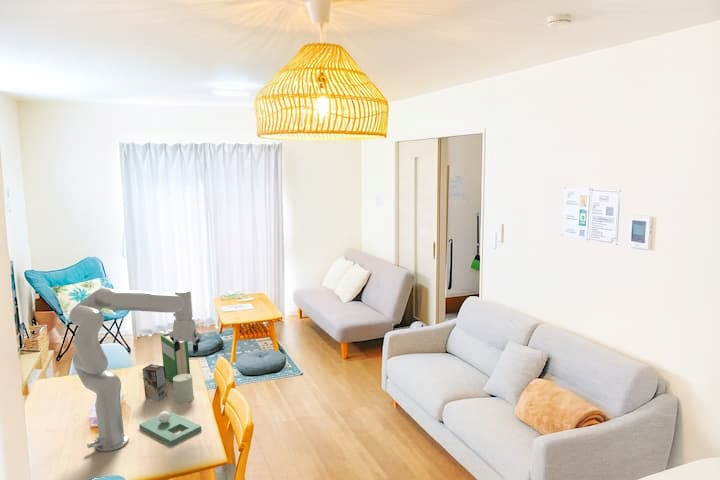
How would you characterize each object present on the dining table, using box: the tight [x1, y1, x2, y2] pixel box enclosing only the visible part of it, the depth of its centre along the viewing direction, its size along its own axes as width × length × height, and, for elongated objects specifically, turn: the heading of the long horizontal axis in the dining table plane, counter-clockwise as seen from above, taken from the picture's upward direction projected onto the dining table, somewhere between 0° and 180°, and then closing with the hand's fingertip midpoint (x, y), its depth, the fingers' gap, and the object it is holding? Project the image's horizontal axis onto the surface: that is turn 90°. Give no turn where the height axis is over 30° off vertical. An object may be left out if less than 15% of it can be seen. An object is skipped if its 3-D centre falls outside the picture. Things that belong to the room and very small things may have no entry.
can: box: [172, 373, 195, 405], centre depth 262 cm, size 9×9×12 cm
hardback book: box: [160, 332, 191, 385], centre depth 283 cm, size 18×7×24 cm, turn 41°
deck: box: [138, 410, 202, 446], centre depth 234 cm, size 15×24×2 cm, turn 53°
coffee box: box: [142, 363, 168, 403], centre depth 264 cm, size 9×6×16 cm
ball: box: [157, 411, 170, 423], centre depth 236 cm, size 5×5×5 cm
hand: (186, 351), depth 250 cm, fingers open, 9 cm apart
